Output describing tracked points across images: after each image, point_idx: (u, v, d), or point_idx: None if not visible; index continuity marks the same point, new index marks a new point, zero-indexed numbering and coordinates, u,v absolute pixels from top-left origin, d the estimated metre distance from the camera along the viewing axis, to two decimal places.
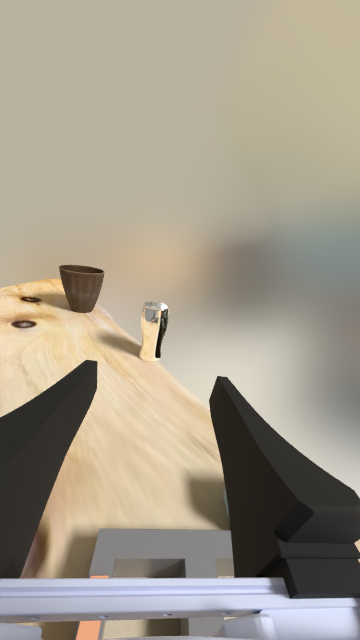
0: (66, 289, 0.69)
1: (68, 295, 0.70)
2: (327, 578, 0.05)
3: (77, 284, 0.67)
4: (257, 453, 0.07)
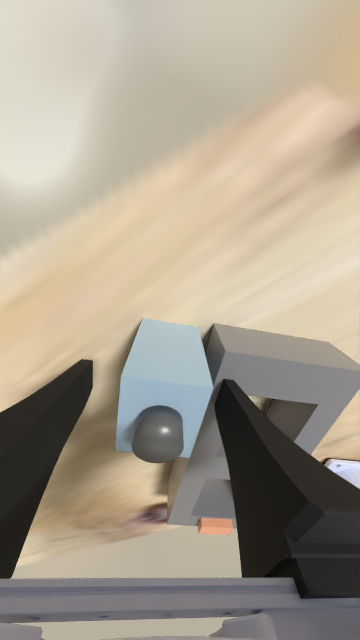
0: None
1: None
2: (337, 578, 0.05)
3: None
4: (264, 454, 0.07)
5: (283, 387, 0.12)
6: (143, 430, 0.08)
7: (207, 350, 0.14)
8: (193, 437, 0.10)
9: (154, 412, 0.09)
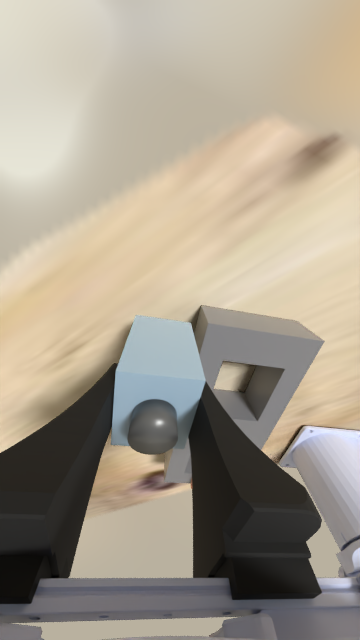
0: None
1: None
2: (272, 578, 0.05)
3: None
4: (215, 450, 0.07)
5: (256, 354, 0.15)
6: (138, 423, 0.08)
7: (196, 328, 0.17)
8: (187, 428, 0.10)
9: (149, 405, 0.09)
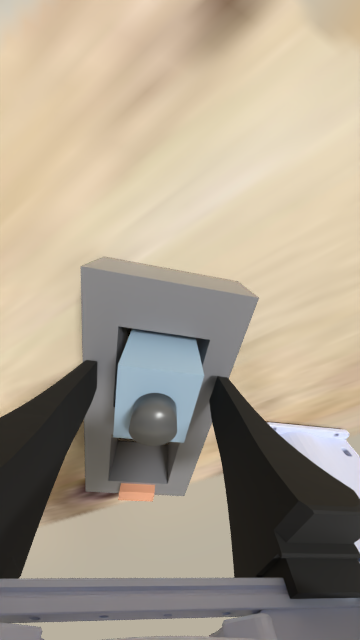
0: None
1: None
2: (327, 578, 0.05)
3: None
4: (257, 454, 0.07)
5: (163, 316, 0.10)
6: (139, 415, 0.09)
7: None
8: (187, 422, 0.10)
9: (149, 399, 0.09)
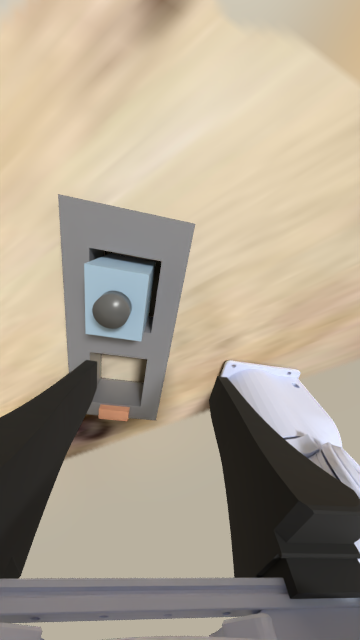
0: None
1: None
2: (327, 578, 0.05)
3: None
4: (257, 454, 0.07)
5: (123, 239, 0.14)
6: (99, 298, 0.12)
7: None
8: (141, 320, 0.14)
9: (108, 292, 0.12)
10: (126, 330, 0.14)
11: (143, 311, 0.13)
